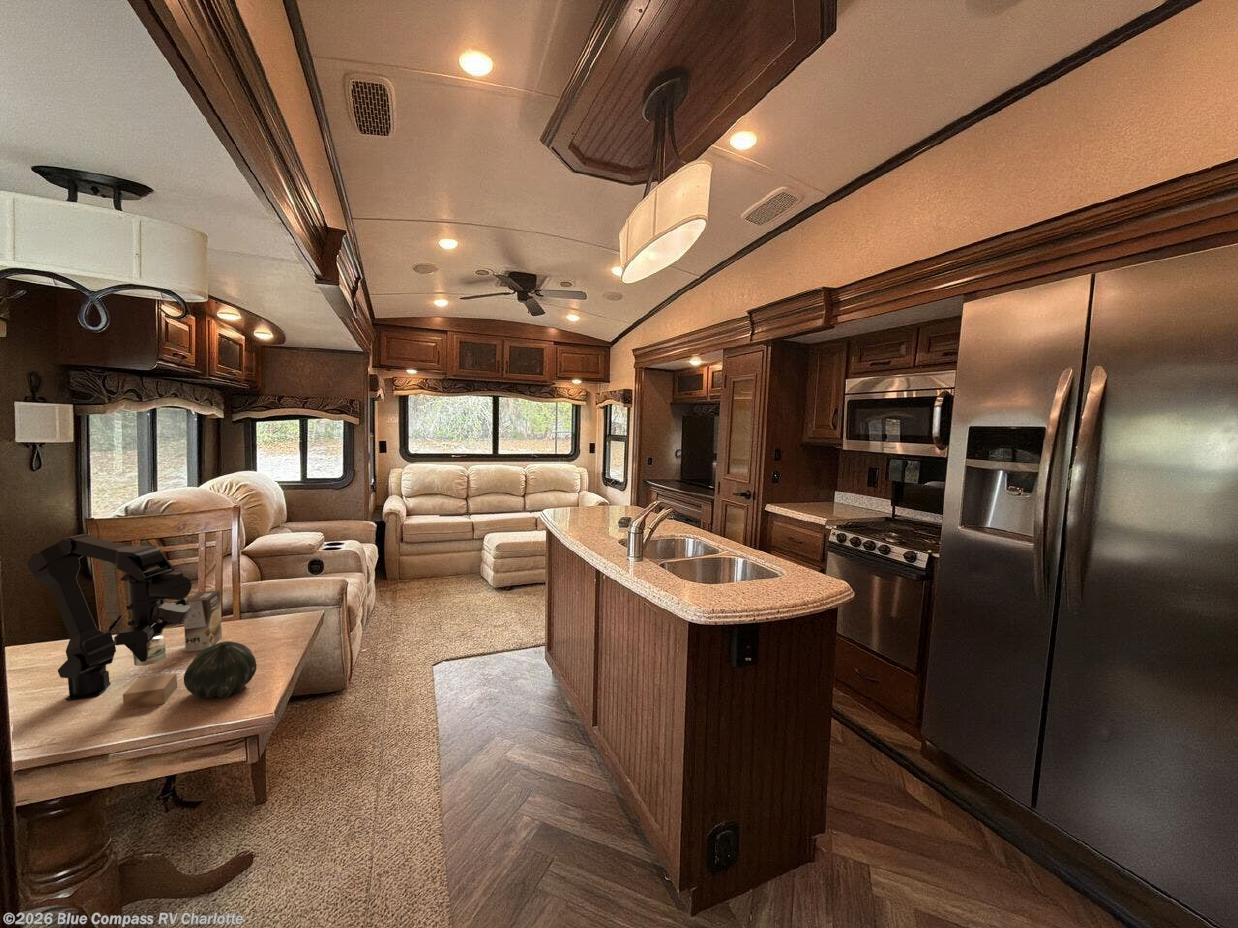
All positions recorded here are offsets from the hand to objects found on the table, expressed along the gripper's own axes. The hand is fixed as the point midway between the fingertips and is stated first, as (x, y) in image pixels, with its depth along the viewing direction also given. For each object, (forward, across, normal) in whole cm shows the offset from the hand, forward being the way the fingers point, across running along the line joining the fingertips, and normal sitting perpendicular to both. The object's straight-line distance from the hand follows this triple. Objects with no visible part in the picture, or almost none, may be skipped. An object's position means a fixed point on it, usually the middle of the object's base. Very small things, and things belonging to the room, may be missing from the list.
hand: (149, 655), depth 130 cm
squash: (+12, -3, -16) cm, 20 cm away
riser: (+11, 0, 0) cm, 11 cm away
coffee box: (+12, +32, -2) cm, 34 cm away
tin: (+1, 0, 0) cm, 1 cm away
